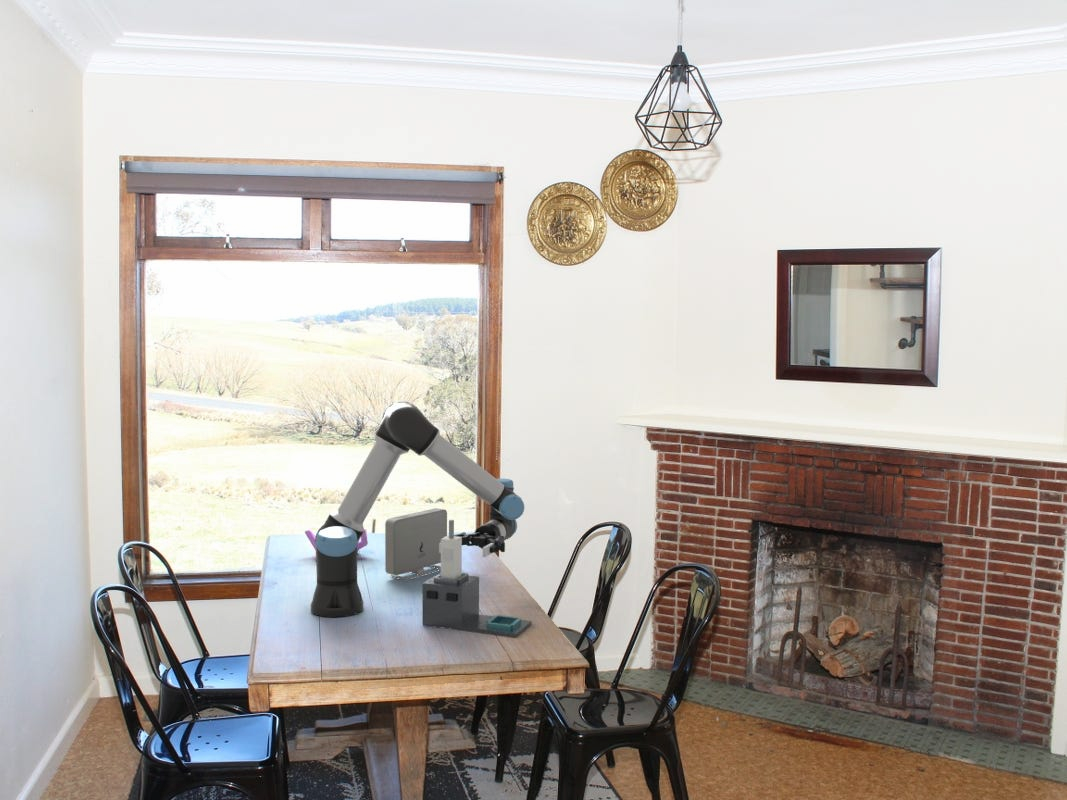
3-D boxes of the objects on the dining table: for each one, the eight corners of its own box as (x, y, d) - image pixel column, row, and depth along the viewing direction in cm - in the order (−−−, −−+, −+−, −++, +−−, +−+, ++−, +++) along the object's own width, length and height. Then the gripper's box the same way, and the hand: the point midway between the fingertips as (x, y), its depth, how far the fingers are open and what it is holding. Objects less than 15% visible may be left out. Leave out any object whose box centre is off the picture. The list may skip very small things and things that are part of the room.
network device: (398, 583, 319) (398, 521, 318) (379, 578, 325) (379, 518, 323) (451, 567, 340) (452, 509, 338) (433, 563, 345) (433, 506, 343)
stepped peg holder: (515, 638, 267) (516, 589, 266) (421, 625, 276) (421, 579, 275) (531, 624, 279) (532, 578, 278) (440, 613, 288) (440, 568, 287)
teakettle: (371, 556, 354) (371, 522, 353) (331, 565, 341) (331, 529, 340) (342, 548, 365) (342, 515, 364) (303, 556, 353) (302, 522, 352)
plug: (453, 583, 276) (454, 523, 274) (439, 581, 277) (439, 521, 276) (461, 578, 281) (461, 519, 279) (447, 577, 282) (447, 518, 281)
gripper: (527, 550, 300) (502, 567, 280) (452, 543, 309) (422, 559, 289) (528, 526, 300) (502, 541, 280) (452, 519, 308) (422, 533, 288)
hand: (461, 550), depth 284 cm, fingers open, 13 cm apart
